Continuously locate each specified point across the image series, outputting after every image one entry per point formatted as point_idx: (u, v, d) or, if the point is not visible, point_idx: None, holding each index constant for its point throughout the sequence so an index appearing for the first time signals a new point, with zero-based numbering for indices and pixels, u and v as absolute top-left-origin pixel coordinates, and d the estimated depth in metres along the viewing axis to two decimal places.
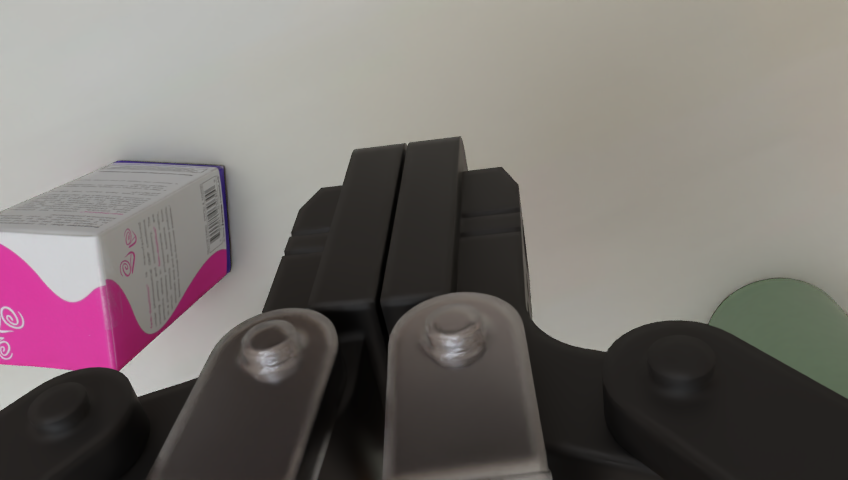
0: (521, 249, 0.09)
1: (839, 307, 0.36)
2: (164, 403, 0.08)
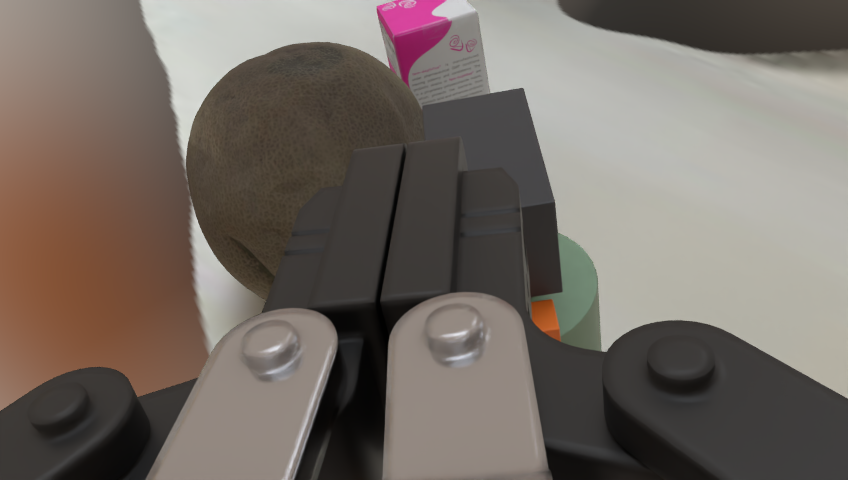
0: (521, 249, 0.09)
1: None
2: (164, 402, 0.08)
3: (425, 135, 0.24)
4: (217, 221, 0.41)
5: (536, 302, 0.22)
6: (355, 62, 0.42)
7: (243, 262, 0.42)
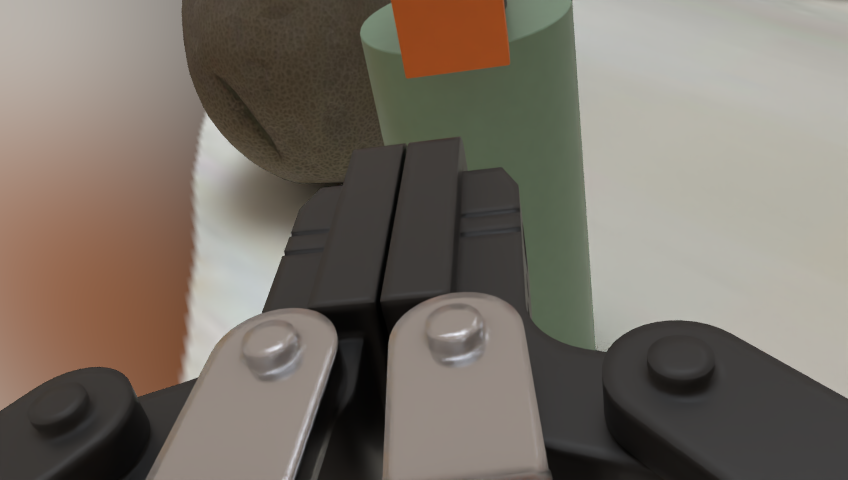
0: (521, 249, 0.09)
1: None
2: (164, 403, 0.08)
3: None
4: (203, 56, 0.39)
5: None
6: None
7: (228, 105, 0.40)
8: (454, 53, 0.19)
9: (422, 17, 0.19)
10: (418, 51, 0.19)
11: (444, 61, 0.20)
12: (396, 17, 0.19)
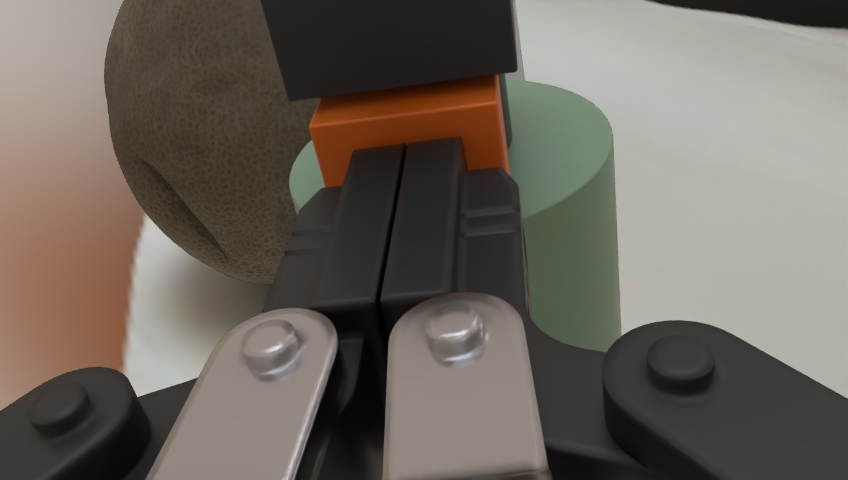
0: (521, 249, 0.09)
1: None
2: (164, 403, 0.08)
3: None
4: (125, 136, 0.31)
5: None
6: None
7: (158, 196, 0.32)
8: None
9: None
10: None
11: None
12: None
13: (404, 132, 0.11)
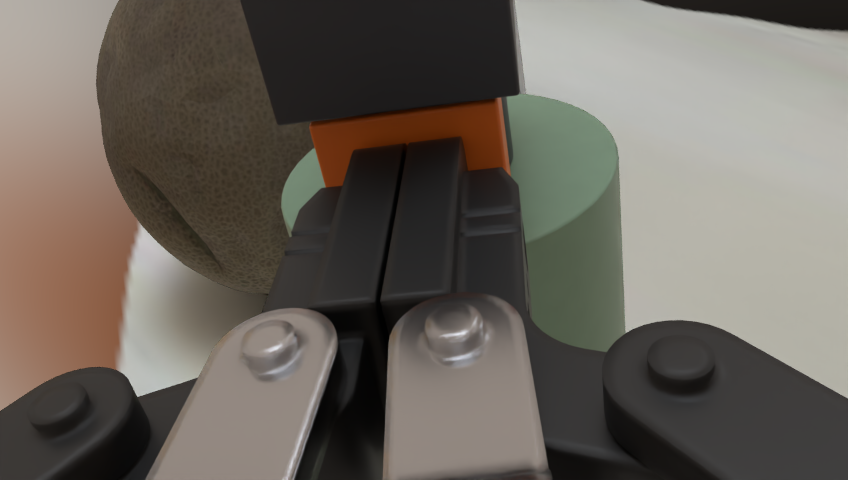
0: (521, 249, 0.09)
1: None
2: (164, 403, 0.08)
3: None
4: (117, 144, 0.30)
5: None
6: None
7: (151, 206, 0.31)
8: None
9: None
10: None
11: None
12: None
13: (404, 132, 0.11)
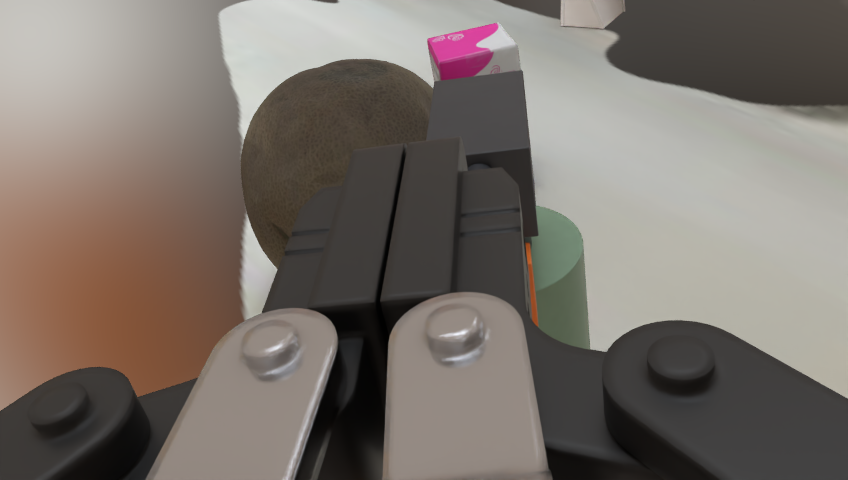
0: (521, 249, 0.09)
1: None
2: (164, 402, 0.08)
3: (432, 101, 0.28)
4: (262, 208, 0.45)
5: None
6: (398, 75, 0.46)
7: (283, 248, 0.46)
8: None
9: None
10: None
11: None
12: None
13: None
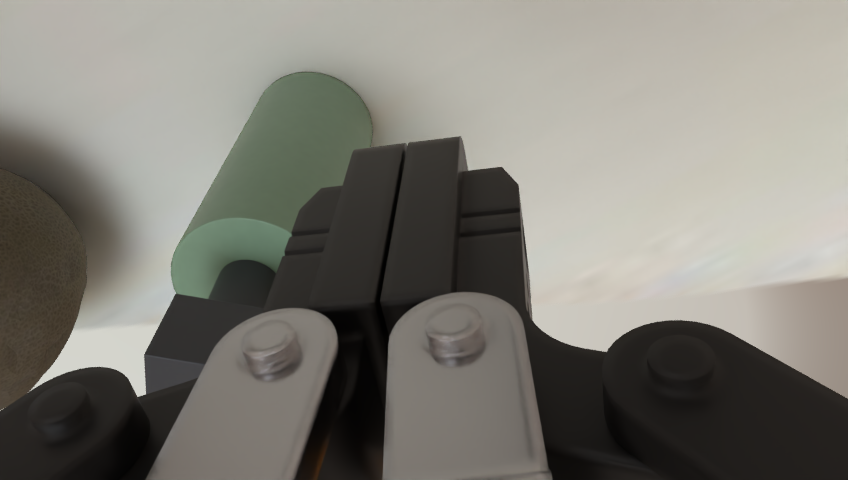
0: (521, 249, 0.09)
1: (342, 95, 0.41)
2: (164, 402, 0.08)
3: None
4: None
5: None
6: None
7: (55, 355, 0.44)
8: None
9: None
10: None
11: None
12: None
13: None
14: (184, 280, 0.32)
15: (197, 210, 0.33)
